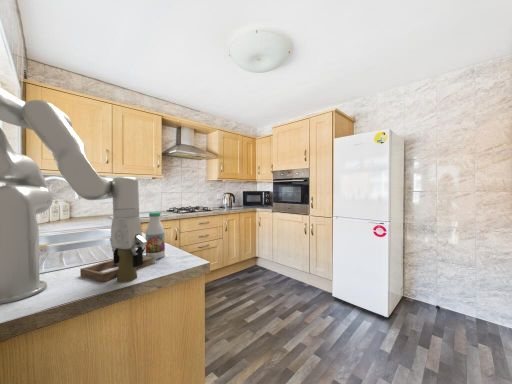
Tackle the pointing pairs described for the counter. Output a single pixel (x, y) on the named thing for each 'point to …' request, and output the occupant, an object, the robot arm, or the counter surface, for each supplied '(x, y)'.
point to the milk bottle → (155, 236)
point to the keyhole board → (94, 270)
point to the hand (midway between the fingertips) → (128, 264)
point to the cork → (126, 266)
